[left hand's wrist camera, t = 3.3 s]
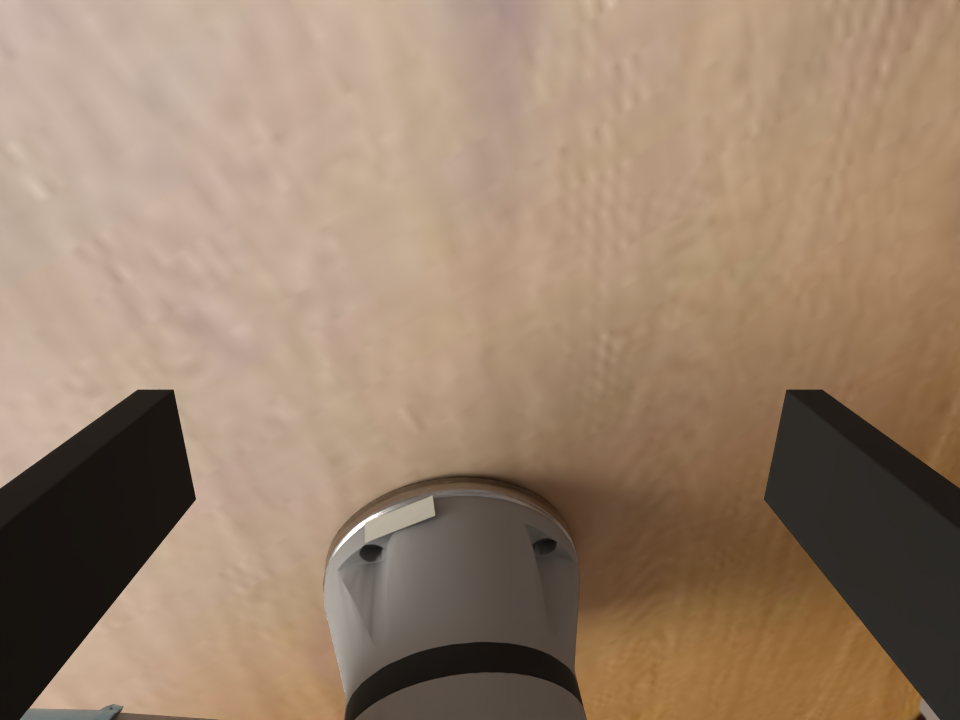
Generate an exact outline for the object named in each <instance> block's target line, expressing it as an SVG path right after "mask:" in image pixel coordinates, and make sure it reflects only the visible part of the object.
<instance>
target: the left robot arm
mask: <svg viewBox="0 0 960 720" xmlns="http://www.w3.org/2000/svg"><path fill="white" fill-rule="evenodd" d="M195 500H196V497H195V492H194V487H193V482H192V478H191V473H190V468H189V463H188V458H187V453H186V448H185V443H184V438H183V434H182V429H181V424H180V419H179V414H178V409H177V404H176V399H175V394H174V390H137V391H135V392H134V393H133V394H131V395H130V396H128V397H127V398H126V399H124V400H123V401H121V402H120V403H119V404H117V405H116V406H114V407H113V408H112V409H110V410H109V411H108V412H106V413H105V414H103V415H102V416H101V417H99V418H98V419H96V420H95V421H94V422H92V423H91V424H89V425H88V426H87V427H85V428H84V429H82V430H81V431H80V432H78V433H77V434H76V435H74V436H73V437H71V438H70V439H69V440H67V441H66V442H64V443H63V444H62V445H60V446H59V447H57V448H56V449H55V450H53V451H52V452H51V453H49V454H48V455H46V456H45V457H44V458H42V459H41V460H39V461H38V462H37V463H35V464H34V465H32V466H31V467H30V468H28V469H27V470H25V471H24V472H23V473H21V474H20V475H19V476H17V477H16V478H14V479H13V480H12V481H10V482H9V483H7V484H6V485H5V486H3V487H2V488H0V720H216V719H201V718H187V717H173V716H159V715H144V714H131V713H120V712H121V711H122V709H123V706H119V705H114V704H112V705H109V706H106V707H104V708H103V709H101V710H69V709H29V708H30V706H31V705H32V704H33V703H34V701H35V700H36V699H37V698H38V696H39V695H40V694H41V693H42V691H43V690H44V689H45V688H46V686H47V685H48V684H49V683H50V681H51V680H52V679H53V678H54V676H55V675H56V674H57V673H58V671H59V670H60V669H61V668H62V666H63V665H64V664H65V663H66V661H67V660H68V659H69V658H70V656H71V655H72V654H73V653H74V651H75V650H76V649H77V648H78V646H79V645H80V644H81V643H82V641H83V640H84V639H85V638H86V636H87V635H88V634H89V632H90V631H91V630H92V629H93V627H94V626H95V625H96V624H97V622H98V621H99V620H100V619H101V617H102V616H103V615H104V614H105V612H106V611H107V610H108V609H109V607H110V606H111V605H112V604H113V602H114V601H115V600H116V599H117V597H118V596H119V595H120V594H121V592H122V591H123V590H124V589H125V587H126V586H127V585H128V584H129V582H130V581H131V580H132V579H133V577H134V576H135V575H136V574H137V572H138V571H139V570H140V569H141V567H142V566H143V565H144V564H145V562H146V561H147V560H148V559H149V557H150V556H151V555H152V554H153V552H154V551H155V550H156V549H157V547H158V546H159V545H160V544H161V542H162V541H163V540H164V539H165V537H166V536H167V535H168V534H169V532H170V531H171V530H172V529H173V527H174V526H175V525H176V524H177V522H178V521H179V520H180V519H181V517H182V516H183V515H184V514H185V512H186V511H187V510H188V509H189V507H190V506H191V505H192V504H193V502H194V501H195ZM764 500H765V501H766V502H767V504H768V505H769V506H770V507H771V509H772V510H773V511H774V512H775V514H776V515H777V516H778V517H779V519H780V520H781V521H782V522H783V524H784V525H785V526H786V527H787V529H788V530H789V531H790V532H791V534H792V535H793V536H794V537H795V539H796V540H797V541H798V542H799V544H800V545H801V546H802V547H803V549H804V550H805V551H806V552H807V554H808V555H809V556H810V557H811V559H812V560H813V561H814V562H815V564H816V565H817V566H818V567H819V569H820V570H821V571H822V572H823V574H824V575H825V576H826V577H827V579H828V580H829V581H830V582H831V584H832V585H833V586H834V587H835V589H836V590H837V591H838V592H839V594H840V595H841V596H842V597H843V599H844V600H845V601H846V602H847V604H848V605H849V606H850V607H851V609H852V610H853V611H854V612H855V614H856V615H857V616H858V617H859V619H860V620H861V621H862V622H863V624H864V625H865V626H866V627H867V629H868V630H869V631H870V632H871V634H872V635H873V636H874V638H875V639H876V640H877V641H878V643H879V644H880V645H881V646H882V648H883V649H884V650H885V651H886V653H887V654H888V655H889V656H890V658H891V659H892V660H893V661H894V663H895V664H896V665H897V666H898V668H899V669H900V670H901V671H902V673H903V674H904V675H905V676H906V678H907V679H908V680H909V681H910V683H911V684H912V685H913V686H914V688H915V689H916V690H917V691H918V693H919V694H920V695H921V696H922V698H923V699H924V700H925V701H926V703H927V704H928V705H929V706H930V708H931V709H932V710H933V711H934V713H935V714H936V715H937V716H938V718H939V719H940V720H960V488H958V487H957V486H955V485H954V484H953V483H951V482H950V481H948V480H947V479H946V478H944V477H943V476H941V475H940V474H939V473H937V472H936V471H935V470H933V469H932V468H930V467H929V466H928V465H926V464H925V463H923V462H922V461H921V460H919V459H918V458H916V457H915V456H914V455H912V454H911V453H909V452H908V451H907V450H905V449H904V448H903V447H901V446H900V445H898V444H897V443H896V442H894V441H893V440H891V439H890V438H889V437H887V436H886V435H884V434H883V433H882V432H880V431H879V430H878V429H876V428H875V427H873V426H872V425H871V424H869V423H868V422H866V421H865V420H864V419H862V418H861V417H859V416H858V415H857V414H855V413H854V412H852V411H851V410H850V409H848V408H847V407H846V406H844V405H843V404H841V403H840V402H839V401H837V400H836V399H834V398H833V397H832V396H830V395H829V394H827V393H826V392H825V391H823V390H786V394H785V399H784V404H783V409H782V414H781V419H780V424H779V429H778V434H777V438H776V443H775V448H774V453H773V458H772V463H771V468H770V473H769V478H768V482H767V487H766V492H765V497H764ZM579 585H580V574H579V565H578V557H577V553H576V549H575V546H574V543H573V540H572V536H571V533H570V530H569V528H568V526H567V524H566V522H565V521H564V519H563V518H562V516H561V515H560V514H559V513H558V511H557V510H556V509H555V508H554V507H552V506H551V505H550V504H549V503H548V502H546V501H545V500H544V499H542V498H541V497H539V496H537V495H536V494H534V493H532V492H530V491H528V490H526V489H523V488H521V487H518V486H515V485H512V484H509V483H505V482H501V481H496V480H490V479H483V478H467V477H457V478H443V479H436V480H429V481H425V482H420V483H416V484H412V485H409V486H405V487H403V488H400V489H397V490H394V491H392V492H390V493H388V494H385V495H383V496H381V497H379V498H377V499H376V500H374V501H372V502H370V503H369V504H367V505H366V506H364V507H363V508H361V509H360V510H359V511H358V512H357V513H355V514H354V515H353V516H352V517H351V518H350V519H349V520H348V521H347V522H346V523H345V524H344V525H343V526H342V528H341V529H340V530H339V531H338V533H337V535H336V536H335V538H334V539H333V541H332V544H331V546H330V548H329V551H328V555H327V560H326V567H325V575H324V582H323V593H324V606H325V612H326V616H327V620H328V625H329V629H330V633H331V637H332V641H333V646H334V650H335V654H336V658H337V662H338V667H339V671H340V675H341V679H342V683H343V688H344V692H345V697H346V705H345V720H587V718H586V714H585V711H584V707H583V703H582V699H581V695H580V691H579V687H578V683H577V679H576V675H575V667H574V665H575V649H576V633H577V617H578V601H579Z"/></svg>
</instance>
